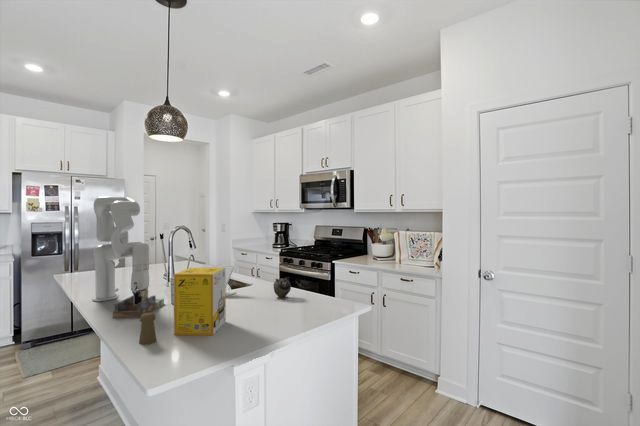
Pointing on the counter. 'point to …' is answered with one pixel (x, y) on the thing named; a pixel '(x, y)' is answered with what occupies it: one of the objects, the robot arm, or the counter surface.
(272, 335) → the counter surface
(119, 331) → the counter surface
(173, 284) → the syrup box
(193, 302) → the packaging box
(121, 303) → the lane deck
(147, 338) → the cork
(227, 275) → the tablet stand
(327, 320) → the counter surface
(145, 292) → the ash block
